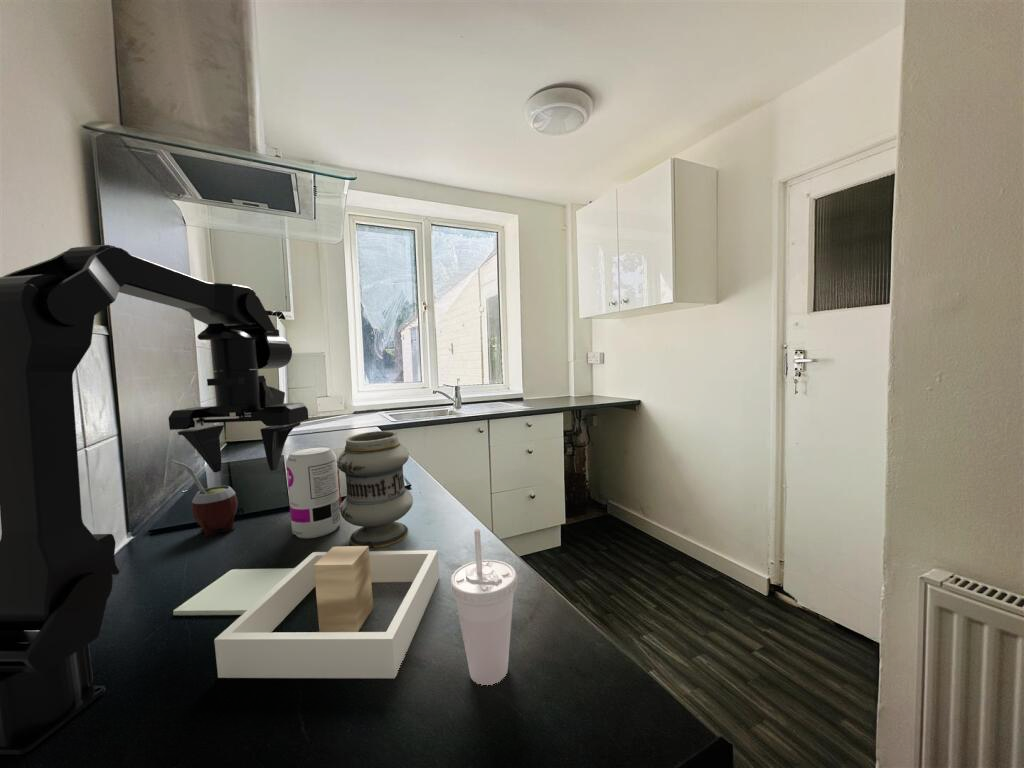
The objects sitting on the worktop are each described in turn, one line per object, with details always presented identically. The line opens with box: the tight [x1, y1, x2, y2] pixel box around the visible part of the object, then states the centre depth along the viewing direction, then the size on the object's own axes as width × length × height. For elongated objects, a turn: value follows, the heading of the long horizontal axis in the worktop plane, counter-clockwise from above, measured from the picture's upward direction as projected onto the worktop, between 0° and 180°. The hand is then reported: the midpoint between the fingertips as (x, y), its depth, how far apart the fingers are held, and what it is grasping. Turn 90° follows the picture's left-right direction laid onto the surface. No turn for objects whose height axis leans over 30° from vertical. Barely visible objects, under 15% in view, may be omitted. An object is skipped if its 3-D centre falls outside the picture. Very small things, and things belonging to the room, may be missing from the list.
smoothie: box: [450, 528, 518, 687], centre depth 40 cm, size 6×6×14 cm
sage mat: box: [173, 567, 296, 616], centre depth 57 cm, size 10×10×1 cm
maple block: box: [314, 545, 374, 632], centre depth 49 cm, size 4×4×8 cm
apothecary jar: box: [337, 430, 414, 549], centre depth 72 cm, size 12×12×18 cm
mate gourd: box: [170, 459, 239, 539], centre depth 77 cm, size 8×8×15 cm
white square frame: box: [213, 549, 440, 679], centre depth 49 cm, size 18×18×4 cm
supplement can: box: [285, 445, 342, 539], centre depth 76 cm, size 8×8×15 cm
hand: (245, 471), depth 64 cm, fingers open, 9 cm apart
